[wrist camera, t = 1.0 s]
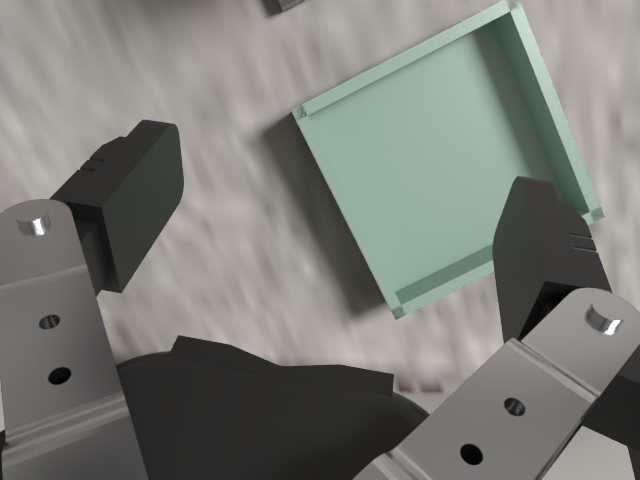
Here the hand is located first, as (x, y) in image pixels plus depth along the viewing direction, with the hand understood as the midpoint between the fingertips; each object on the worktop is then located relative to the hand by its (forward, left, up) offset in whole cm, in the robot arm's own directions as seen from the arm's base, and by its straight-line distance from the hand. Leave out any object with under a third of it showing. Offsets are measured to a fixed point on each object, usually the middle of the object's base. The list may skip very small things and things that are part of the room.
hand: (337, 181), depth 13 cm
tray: (+7, +2, -17) cm, 18 cm away
